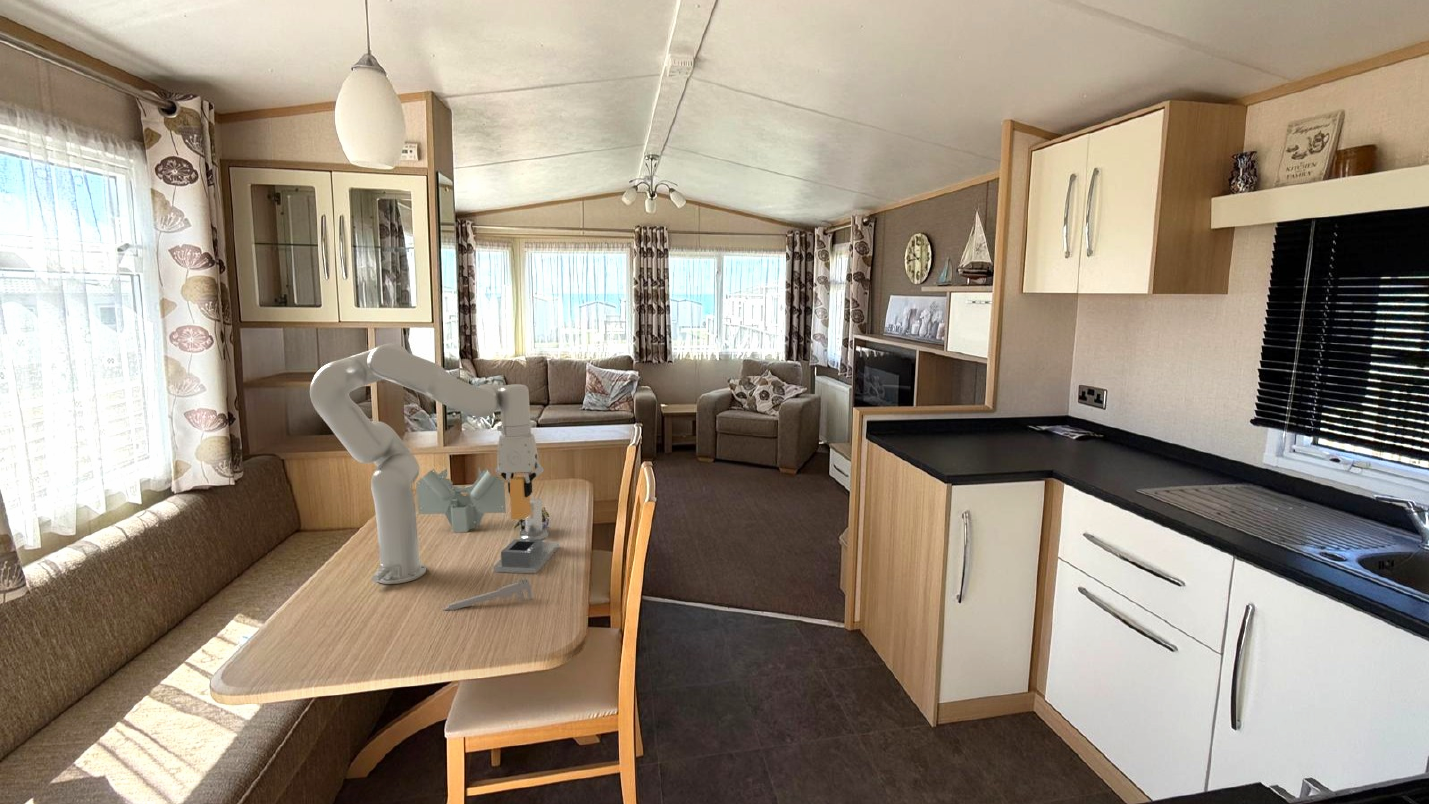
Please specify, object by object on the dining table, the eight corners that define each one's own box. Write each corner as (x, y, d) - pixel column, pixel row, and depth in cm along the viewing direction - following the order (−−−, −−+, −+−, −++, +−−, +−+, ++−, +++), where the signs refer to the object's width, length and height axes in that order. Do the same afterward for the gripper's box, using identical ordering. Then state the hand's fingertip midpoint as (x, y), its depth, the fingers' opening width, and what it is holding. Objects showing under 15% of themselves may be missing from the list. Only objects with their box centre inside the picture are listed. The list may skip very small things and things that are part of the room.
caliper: (531, 599, 167) (530, 575, 166) (531, 601, 166) (530, 577, 165) (444, 609, 161) (442, 585, 160) (443, 611, 160) (441, 587, 159)
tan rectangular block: (523, 519, 182) (522, 479, 181) (511, 519, 182) (509, 479, 181) (530, 514, 187) (529, 475, 186) (518, 514, 187) (516, 475, 186)
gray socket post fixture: (536, 573, 181) (533, 518, 179) (493, 571, 183) (490, 517, 180) (559, 547, 200) (557, 497, 198) (520, 545, 201) (518, 496, 199)
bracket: (509, 523, 220) (506, 464, 217) (503, 531, 213) (500, 470, 210) (424, 525, 219) (419, 465, 215) (415, 533, 212) (411, 471, 208)
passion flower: (544, 551, 211) (547, 529, 203) (509, 546, 210) (510, 524, 201) (551, 522, 219) (553, 499, 211) (517, 517, 218) (518, 494, 210)
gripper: (481, 433, 178) (485, 499, 181) (541, 433, 177) (545, 500, 180) (493, 427, 186) (497, 491, 189) (550, 427, 184) (554, 492, 187)
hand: (520, 495), depth 184 cm, fingers closed on tan rectangular block, 3 cm apart
